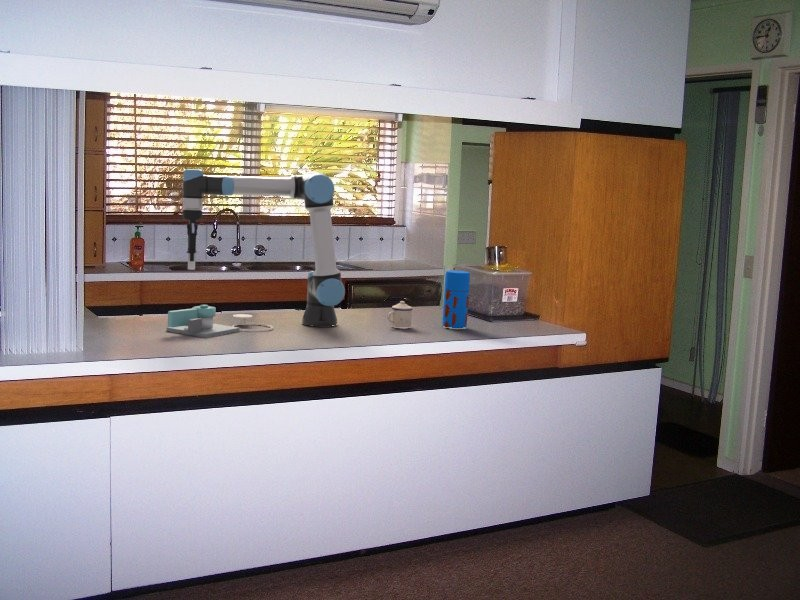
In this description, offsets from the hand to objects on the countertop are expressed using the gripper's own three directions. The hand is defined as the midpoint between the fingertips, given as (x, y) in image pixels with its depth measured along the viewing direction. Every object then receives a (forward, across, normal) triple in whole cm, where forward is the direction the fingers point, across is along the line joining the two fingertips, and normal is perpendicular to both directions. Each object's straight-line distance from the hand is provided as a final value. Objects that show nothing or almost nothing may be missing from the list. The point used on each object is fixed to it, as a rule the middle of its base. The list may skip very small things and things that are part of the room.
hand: (191, 269), depth 338 cm
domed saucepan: (+21, +7, 0) cm, 22 cm away
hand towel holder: (+25, -5, +24) cm, 35 cm away
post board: (+24, +4, +4) cm, 25 cm away
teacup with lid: (+25, -6, +88) cm, 92 cm away
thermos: (+25, -6, +114) cm, 117 cm away
